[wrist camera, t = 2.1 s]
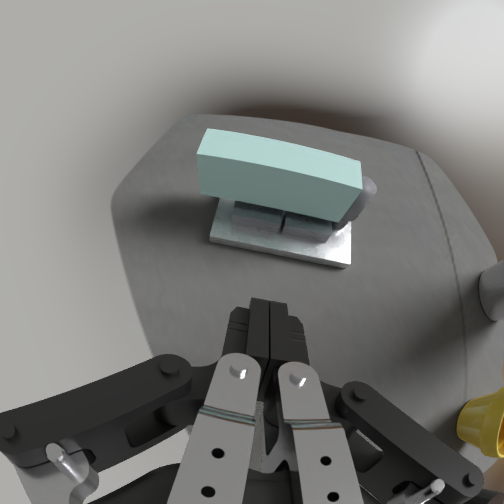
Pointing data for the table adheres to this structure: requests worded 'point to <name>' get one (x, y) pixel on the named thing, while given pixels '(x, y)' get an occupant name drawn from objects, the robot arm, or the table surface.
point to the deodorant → (487, 497)
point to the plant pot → (484, 424)
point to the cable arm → (282, 176)
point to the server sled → (282, 233)
